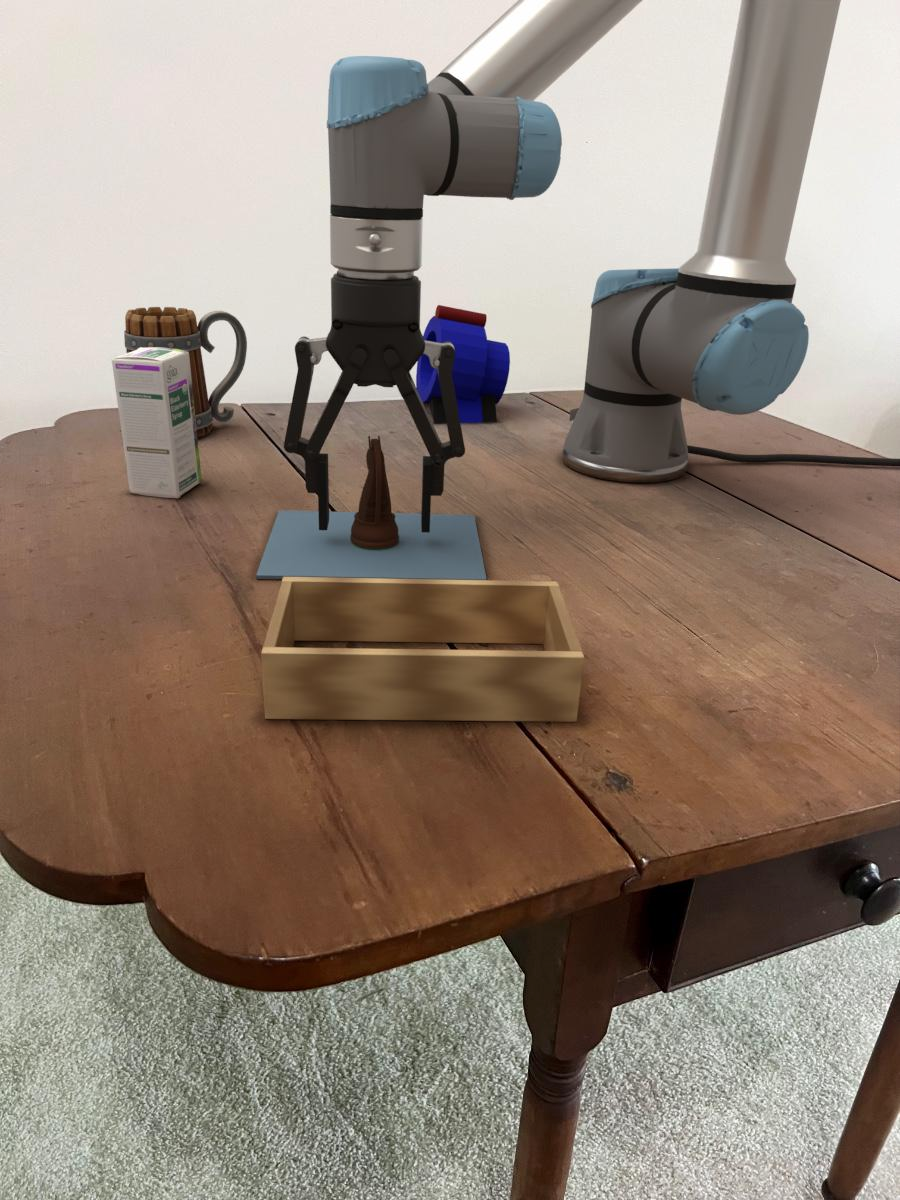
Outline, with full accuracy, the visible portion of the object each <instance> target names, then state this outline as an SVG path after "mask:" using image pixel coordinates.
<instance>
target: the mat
mask: <svg viewBox="0 0 900 1200" xmlns="http://www.w3.org/2000/svg"><path fill="white" fill-rule="evenodd" d="M357 512H358V511H329V524H328V528H327V530H319V512H318V510H283V509H282V510H280V509H279V510H278V511H277V515H276V518H275V521H274V523H273V526H272V529H271V532H270V534H269V537H268V540H267V542H266V546H265V548H264V550H263V551H264V552H263V553H262V557H261V561H260V562H259V566H258V568H257V570H256V571H257V572H256V574H255V579H256V580H278V581H279V580H281V581H282V579H283V577H328V578H384V579H439V580H488V579H487V575H486V569H485V564H484V559H483V554H482V548H481V543H480V537H479V533H478V527H477V521H476V517H475V514H459V513H458V514H455V513H430V533H429V532H422V530H421V513H418V512H417V513H416V512H415V513H413V512H392V513H393V514H394V515H395V522H396V524H397V526H398V535H399V542H398V543H397V544H396V545H395V546H394V547H391V548H388V549H383V550H367V549H362V548H359V547H356V546H355V545H353V544H352V542H351V540H350V535H351V527H352V524H353V522H354V520H355V518H354V515H355V514H356V513H357Z"/></svg>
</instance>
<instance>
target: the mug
mask: <svg viewBox="0 0 900 1200" xmlns="http://www.w3.org/2000/svg"><path fill="white" fill-rule="evenodd" d="M124 319H125V320H124V321H125V322H124V323H125V330H124V331H123V334H124V348H125V349H126V351H125V352H126V353H129V352H132V351H135V350H137V349H138V348H140V347H142V348H148V347H162V348H173V349H180V350H185V351H188V352H189V358H190V369H191V379H192V389H193V398H194V408H195V418H196V428H197V438H198V439H201V438H203V437H205V436H206V435H208V434H209V433H210V432H211V430H212V429H213V422H214V420H215V421H216V422H218V423H227V422H230V421H231V420H232V419H233V417H234V414H235V409H234V408H233V407H232V406H223V410H222V411H221V412H220V411H219V406H220V403H221V401H222V399H223V398H224V397H225V396H226V394H227V393H228V392H229V390H230V389H231V388H232V387H233V386H234V385H235V384H236V382H237V381H238V379H239V378H240V377H241V374H242V372H243V370H244V367H245V365H246V358H247V351H248V340H247V334H246V331H245V329H244V326H243V324H242V323H241V322H240V320H239V318H238V319H237V317H236V316H234V315H233V314H231V313H229V312H228V311H225V310H212V311H209V312H207V313H205V314H204V315H203V316H202V317H201V318H200V320H199V321H198V322H197V315H196V314H195V312H194V310H192V309H188V308H185V307H178V308H176V307H175V306H164V307H163V310H162V309H161V306H149V307H148V308H146V307H137V308H135V309H133V308H132V309H128V310H127V312H126V313H125V316H124ZM219 321H225V322H227V323H228V324H229V325H230V326H231V327H232V329H233V332H234V335H235V343H236V344H235V353H234V359H233V362H232V366H231V367H230V369H229V371H228V373H227V374H226V375H225V376H224V378H223V379H222V380H220V382H219V383H218V384H217V385H216V386H215V388H214V389H213V391H212V392H211V393H210V396H209V395H208V394H209V393H208V388H207V380H206V373H205V368H204V362H203V361H204V360H203V354H202V349H201V347H202V348H203V349H204V350H205V351H206V352H208V353H209V354H212V353H213V351H214V350H215V349H216V346H214V345H213V344H212V343H211V342H210V340H209V335H208V333H209V328H210V327H211V326H212V325H213V324H214V323H215V322H219Z"/></svg>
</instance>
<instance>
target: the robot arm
mask: <svg viewBox="0 0 900 1200" xmlns="http://www.w3.org/2000/svg"><path fill="white" fill-rule="evenodd" d="M643 1H644V0H517V1H516V2H515V3H514V4H513V5H511V6H510V8H508V9H507V10H506V11H505V12H504V13H503V14H502V15H501V16H500V17H499V18H497V20H495V21H494V22H493V23H492V24H491V25H490V26H489V27H488V28H486V29H485V30H484V31H483V32H482V33H481V34H480V35H479V36H478V37H477V38H476V39H475V40H474V41H473V42H471V44H469V45H468V46H467V47H466V48H465V49H464V50H463V51H462V52H460V53H459V55H457V56H456V57H455V58H454V59H453V60H451V62H449V64H448V65H446V66H445V67H444V68H443V69H442V70H441V71H440V72H439V73H438V74H437V75H436V76H435V77H433V78H432V79H431V80H430V81H429V82H427V81H428V78H427V71H426V67H425V65H423V63H421V62H420V61H418V60H415V59H406V58H403V57H394V56H393V57H392V56H379V55H353V56H346V57H342V58H339V59H338V60H337V61H336V62H335V63H334V64H333V65H332V67H331V69H330V73H329V84H328V85H329V86H328V93H327V94H328V96H327V97H328V98H327V120H326V129H327V137H328V138H327V140H328V142H327V143H328V167H329V168H328V169H329V195H330V196H329V197H330V199H329V200H330V205H329V208H330V209H329V210H330V211H329V212H330V215H329V231H330V232H329V243H330V244H329V245H330V246H329V248H330V249H329V250H330V251H329V252H330V253H329V254H330V265H331V266H332V267H333V268H335V269H337V271H336V273H334V274H333V275H332V277H331V278H330V299H331V300H330V308H331V309H330V311H331V312H330V313H331V316H330V317H331V320H330V321H331V324H330V325H331V326H330V330H329V332H328V333H327V336H326V337H318V338H317V337H315V338H309V337H308V336H301V337H300V338H298V340H297V342H296V344H295V345H294V353H295V360H296V365H297V374H296V378H295V383H294V388H293V394H292V399H291V404H290V409H289V414H288V419H287V425H286V431H285V436H284V442H283V450H284V451H285V452H286V453H288V454H296V455H298V456H300V457H301V458H302V459H303V460H304V471H305V472H304V473H305V490H306V491H307V493H308V494H317V499H318V500H317V504H318V505H317V506H318V507H317V508H318V510H317V511H318V512H319V530H327V528H328V524H329V512H330V489H329V487H330V486H329V485H330V484H329V478H330V477H329V453H325V452H324V453H323V452H322V453H321V451H322V448H323V446H324V445H325V442H326V440H327V438H328V436H329V434H330V432H331V431H332V428H333V426H334V424H335V422H336V420H337V418H338V417H339V415H340V412H341V410H342V408H343V406H344V404H345V402H346V400H347V398H348V396H349V394H350V393H351V390H352V388H353V386H354V385H356V386H357V387H364V388H367V387H370V386H371V387H372V386H375V385H376V386H379V387H383V388H394V386H396V387H397V389H398V392H399V394H400V396H401V397H402V399H403V401H404V403H405V406H406V408H407V410H408V412H409V414H410V416H411V418H412V421H413V422H414V424H415V427H416V429H417V431H418V433H419V436H420V437H421V439H422V442H423V444H424V446H425V448H426V451H427V452H428V454H429V455H423V456H422V474H421V475H422V477H421V479H422V481H421V512H420V514H421V530H422V532H429V533H430V514H431V506H432V505H431V504H432V503H431V502H432V496H433V497H441V496H442V495H443V493H444V486H445V465H446V463H447V462H448V461H449V460H451V459H454V458H462V457H463V456H464V455H465V453H466V447H465V440H464V436H463V435H464V434H463V430H462V425H461V424H462V423H460V418H459V412H458V406H457V401H456V395H455V389H454V384H453V378H452V370H453V364H454V359H455V349H454V346H453V344H452V343H451V342H449V341H445V342H443V343H437V342H431V341H425V340H424V337H423V335H424V334H423V333H422V331H421V302H422V298H421V297H422V296H421V295H422V281H421V280H420V278H419V277H418V276H417V275H415V272H417V271H419V270H420V269H421V268H422V266H423V265H422V263H423V262H422V258H423V221H424V220H423V217H424V196H428V197H438V196H448V197H466V198H493V199H494V198H495V199H497V198H498V199H507V200H509V201H513V200H515V199H521V198H523V199H524V198H525V199H526V198H536V197H539V196H541V195H542V194H544V193H546V192H547V191H548V189H549V188H550V187H551V186H552V184H553V183H554V181H555V179H556V176H557V174H558V171H559V167H560V165H561V158H562V157H561V154H562V145H563V142H562V141H563V138H562V130H561V125H560V122H559V120H558V117H557V115H556V113H555V112H554V110H553V109H552V108H551V106H549V105H548V104H547V103H544V102H542V101H535V100H536V99H537V98H538V97H540V96H541V95H542V94H543V93H544V92H545V91H546V90H547V89H548V88H550V86H551V85H553V84H554V83H555V82H556V81H557V80H558V79H559V78H561V76H563V75H564V74H565V73H566V72H567V71H568V70H570V68H571V67H572V66H573V65H574V64H575V63H577V61H579V60H580V59H581V58H583V56H584V55H586V53H587V52H589V51H590V50H591V49H592V48H593V47H594V46H595V45H596V44H597V43H598V42H599V41H601V40H602V38H604V37H605V36H606V35H607V34H608V33H609V32H611V30H612V29H614V28H615V27H616V26H617V25H618V24H619V23H620V22H621V21H622V20H624V19H625V17H627V16H628V15H629V14H630V13H631V12H632V11H633V10H635V8H636V7H637V6H638V5H640V4H641V3H642V2H643ZM841 3H842V0H741V1H740V8H739V13H738V19H737V23H736V30H735V35H734V40H733V47H732V53H731V56H730V57H731V58H730V62H729V69H728V76H727V81H726V85H725V93H724V96H723V103H722V108H721V109H722V110H721V114H720V118H719V119H720V120H719V126H718V132H717V135H716V136H717V137H716V142H715V148H714V154H713V160H712V165H711V171H710V177H709V181H708V188H707V193H706V200H705V205H704V210H703V215H702V222H701V228H700V232H699V239H698V245H697V250H696V252H695V253H694V254H693V256H691V257H690V258H689V259H688V260H687V261H685V262H684V263H683V264H682V265H680V266H679V267H677V268H637V269H636V268H634V269H633V268H630V269H608V270H606V271H603V272H602V273H601V274H600V275H599V276H598V277H597V280H596V283H595V286H594V287H595V288H594V292H593V297H592V300H591V301H592V302H591V303H590V308H591V316H590V328H589V337H588V348H587V356H586V357H587V358H586V366H585V367H586V368H585V377H584V378H585V379H584V389H583V396H582V400H581V402H580V405H579V407H577V408H573V409H570V410H569V419H568V422H571V421H572V423H571V425H570V427H569V430H568V433H567V435H566V437H565V439H564V443H563V446H562V457H561V458H562V459H561V460H562V461H563V463H564V464H565V465H566V466H567V467H569V468H570V469H572V470H574V471H576V472H579V473H581V474H585V475H587V476H591V477H595V478H599V479H603V480H610V481H615V482H616V481H617V482H625V483H626V482H627V483H658V482H665V481H670V480H671V481H672V480H674V479H678V478H679V477H681V476H683V475H685V474H686V472H687V469H688V465H689V455H691V454H692V455H696V456H702V457H709V458H715V459H718V460H724V461H728V462H733V463H734V462H736V463H747V464H748V463H753V464H757V463H812V464H814V463H815V464H831V465H832V464H833V465H849V466H851V465H852V466H874V467H900V458H892V457H891V458H890V457H889V458H887V457H864V456H862V457H861V456H841V455H825V454H805V453H771V454H769V453H768V454H741V453H732V452H728V451H722V450H718V449H713V448H707V447H701V446H695V445H689V444H688V442H687V436H686V431H685V425H684V419H683V413H682V399H684V400H686V401H689V402H692V403H695V404H697V405H699V406H700V407H701V408H704V409H706V410H708V411H713V412H717V411H718V412H723V413H725V414H729V415H737V416H741V415H749V414H753V413H756V412H759V411H761V410H763V409H764V408H766V407H768V406H770V405H771V404H772V403H774V402H775V401H776V400H777V398H778V397H779V396H780V395H782V394H784V393H785V392H787V390H788V389H789V387H790V386H791V385H792V383H793V382H794V381H795V379H796V377H797V376H798V374H799V372H800V370H801V368H802V366H803V363H804V362H805V358H806V356H807V355H806V354H807V352H808V347H809V340H810V338H809V336H810V335H809V326H808V325H806V324H805V322H806V318H805V316H804V314H803V312H802V310H800V309H799V308H798V307H797V306H795V304H794V303H793V299H794V295H795V289H796V285H797V278H796V276H795V275H794V273H793V272H792V270H791V269H790V268H789V266H788V265H787V261H786V257H787V251H788V247H789V242H790V239H791V233H792V229H793V224H794V220H795V216H796V210H797V205H798V200H799V196H800V192H801V187H802V182H803V177H804V175H805V170H806V169H805V168H806V163H807V159H808V156H809V155H808V154H809V150H810V145H811V140H812V136H813V132H814V128H815V127H814V126H815V122H816V117H817V114H818V108H819V103H820V99H821V94H822V90H823V86H824V80H825V76H826V70H827V66H828V61H829V57H830V52H831V48H832V43H833V38H834V33H835V29H836V25H837V19H838V15H839V10H840V7H841ZM325 352H328V353H329V355H330V356H331V357H332V359H333V360H334V361H335V363H336V364H337V366H338V367H339V369H340V370H341V373H340V375H339V377H338V379H337V381H336V384H335V385H334V388H333V390H332V392H331V394H330V396H329V398H328V400H327V402H326V404H325V406H324V408H323V411H322V412H321V415H320V417H319V418H318V421H317V423H316V425H315V426H314V429H313V431H312V433H311V435H310V437H309V439H307V438H305V437H302V433H303V428H304V422H305V417H306V411H307V407H308V402H309V396H310V391H311V386H312V381H313V375H314V371H315V366H316V365H319V364H320V363H321V360H322V358H323V354H324V353H325ZM422 354H426V355H427V356H428V357H429V359H430V364H431V366H432V367H433V368H435V369H438V378H439V384H440V390H441V395H442V401H443V406H444V412H445V417H446V423H445V424H446V428H447V432H448V438H449V440H447V441H444V442H442V441H441V439H440V437H439V434H438V432H437V430H436V428H435V426H434V422H433V420H432V419H431V416H430V415H429V412H428V411H427V408H426V405H425V403H423V402H422V400H421V397H420V395H419V393H418V391H417V389H416V383H415V380H414V379H413V376H412V375H411V371H412V369H413V368H414V367H415V365H417V362H418V360H419V358H420V357H421V356H422Z"/></svg>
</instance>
